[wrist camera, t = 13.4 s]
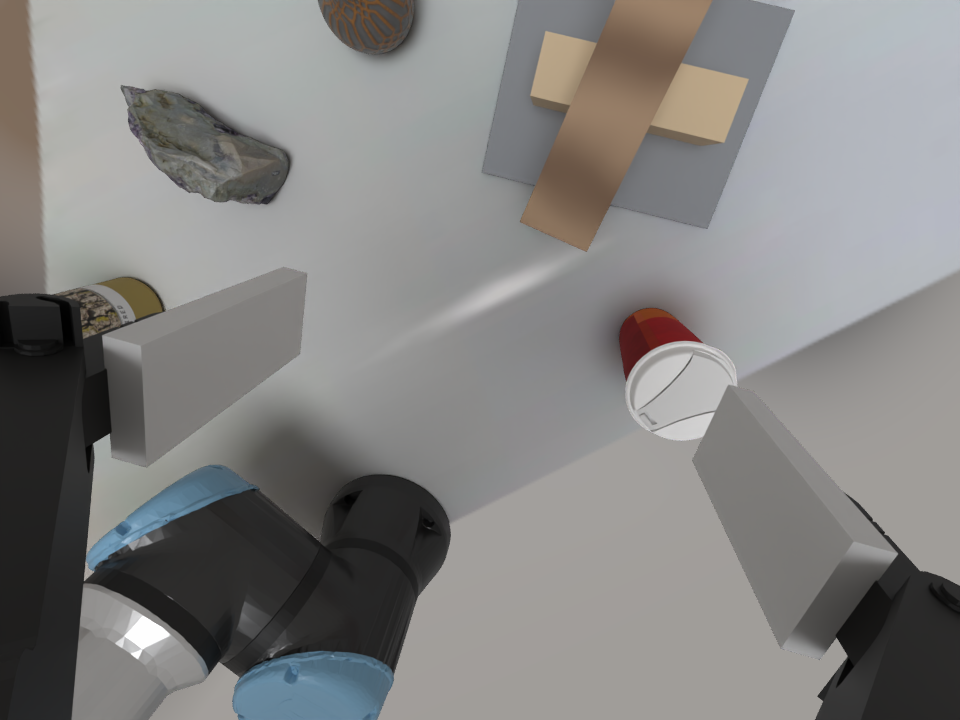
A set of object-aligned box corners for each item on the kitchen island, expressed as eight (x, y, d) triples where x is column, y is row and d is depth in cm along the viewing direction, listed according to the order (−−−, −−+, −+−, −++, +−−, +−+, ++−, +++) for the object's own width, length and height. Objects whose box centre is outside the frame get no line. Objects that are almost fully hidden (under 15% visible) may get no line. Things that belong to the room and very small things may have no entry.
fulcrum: (704, 227, 43) (730, 238, 37) (483, 172, 44) (471, 173, 38) (789, 14, 37) (838, -18, 31) (530, -46, 38) (525, -89, 31)
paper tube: (155, 274, 52) (-159, 360, 29) (174, 335, 55) (-102, 459, 32) (100, 277, 53) (-247, 361, 30) (120, 336, 56) (-185, 457, 33)
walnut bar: (582, 241, 38) (586, 251, 34) (523, 215, 38) (519, 221, 34) (750, -100, 30) (786, -148, 25) (675, -135, 30) (697, -190, 25)
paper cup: (636, 386, 49) (665, 464, 36) (591, 327, 48) (606, 387, 35) (708, 343, 47) (767, 410, 34) (664, 279, 45) (708, 324, 32)
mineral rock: (142, 104, 46) (39, 89, 37) (228, 41, 43) (139, 7, 34) (223, 232, 50) (147, 247, 40) (307, 182, 47) (246, 186, 37)
